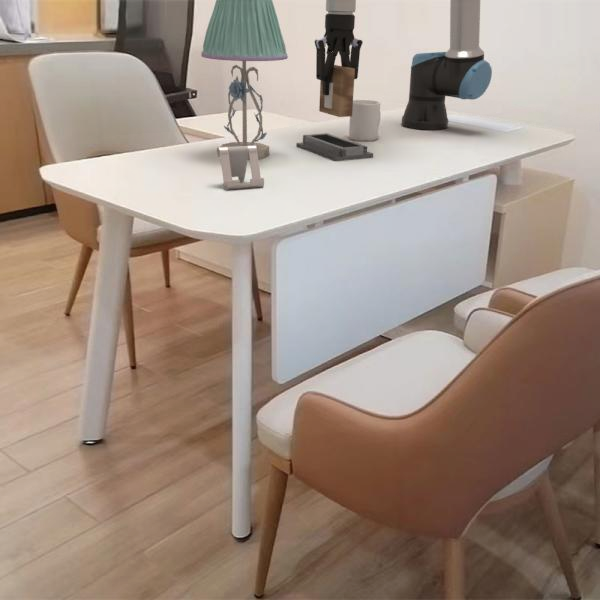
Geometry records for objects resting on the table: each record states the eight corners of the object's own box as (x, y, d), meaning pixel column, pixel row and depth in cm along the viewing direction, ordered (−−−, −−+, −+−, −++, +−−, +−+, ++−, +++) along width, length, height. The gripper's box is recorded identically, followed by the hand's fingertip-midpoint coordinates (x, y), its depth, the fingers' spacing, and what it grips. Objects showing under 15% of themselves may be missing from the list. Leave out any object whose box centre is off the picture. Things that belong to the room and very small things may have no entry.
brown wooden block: (331, 110, 201) (333, 64, 197) (352, 116, 193) (354, 68, 189) (319, 111, 199) (321, 65, 195) (339, 117, 192) (341, 69, 187)
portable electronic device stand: (227, 191, 160) (226, 152, 157) (215, 182, 167) (215, 145, 163) (264, 188, 163) (264, 150, 160) (251, 179, 170) (251, 143, 166)
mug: (390, 137, 222) (393, 101, 217) (365, 142, 213) (368, 105, 209) (367, 133, 227) (370, 97, 223) (342, 138, 219) (344, 101, 215)
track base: (332, 143, 211) (333, 132, 210) (373, 157, 195) (373, 146, 194) (296, 146, 206) (296, 135, 204) (335, 161, 190) (335, 149, 189)
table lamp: (186, 153, 193) (180, -12, 178) (246, 143, 208) (246, -11, 192) (242, 168, 180) (242, -10, 164) (302, 155, 195) (307, -8, 179)
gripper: (359, 12, 194) (354, 104, 203) (303, 12, 186) (300, 106, 195) (376, 14, 188) (370, 108, 197) (319, 13, 180) (315, 111, 189)
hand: (335, 107), depth 196 cm, fingers closed on brown wooden block, 4 cm apart
